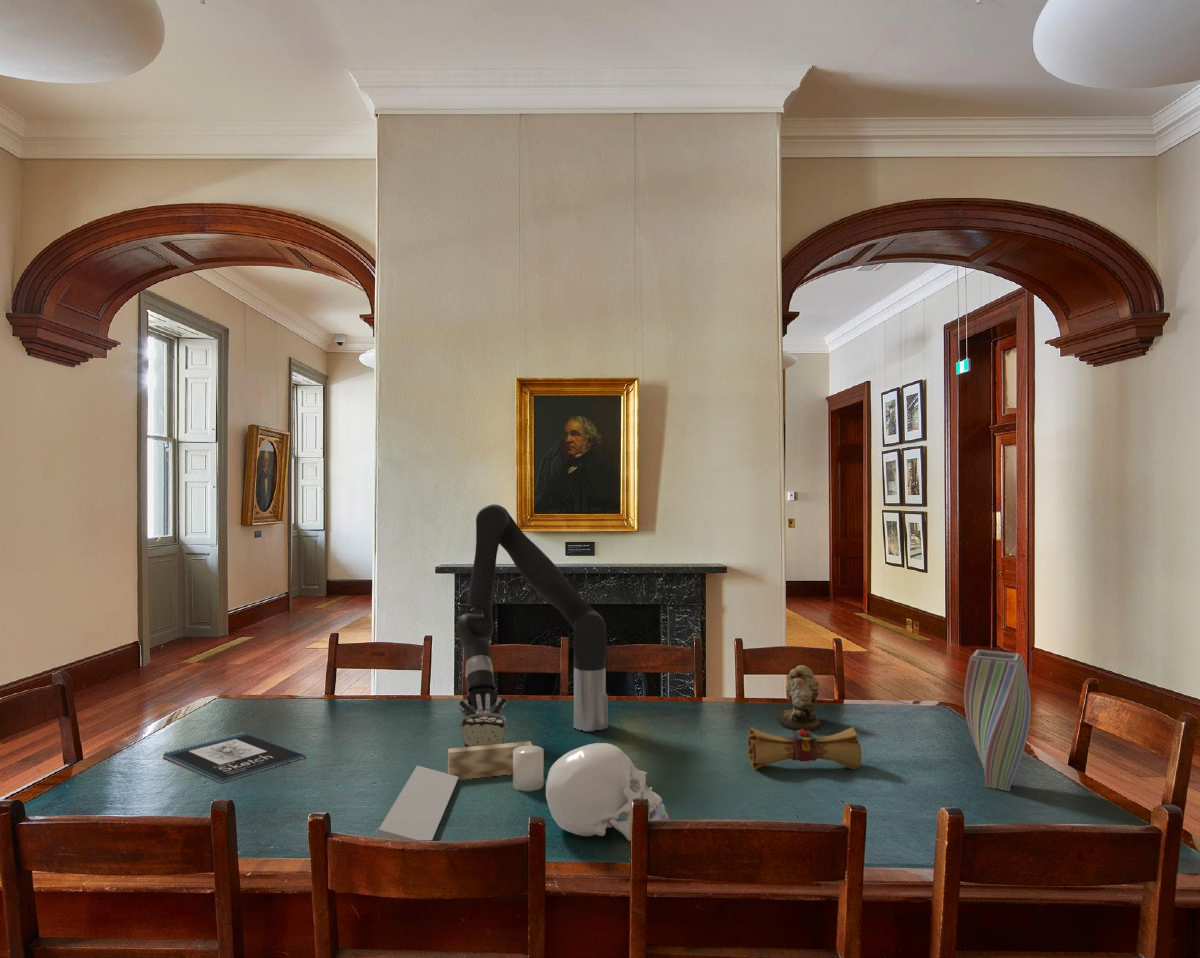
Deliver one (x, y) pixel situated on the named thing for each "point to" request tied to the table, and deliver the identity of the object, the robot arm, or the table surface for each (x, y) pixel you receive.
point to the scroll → (804, 748)
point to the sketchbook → (232, 757)
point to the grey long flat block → (419, 806)
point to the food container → (483, 729)
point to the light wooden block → (482, 760)
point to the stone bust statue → (801, 700)
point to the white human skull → (597, 790)
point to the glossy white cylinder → (528, 768)
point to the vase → (998, 713)
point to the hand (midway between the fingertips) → (485, 734)
